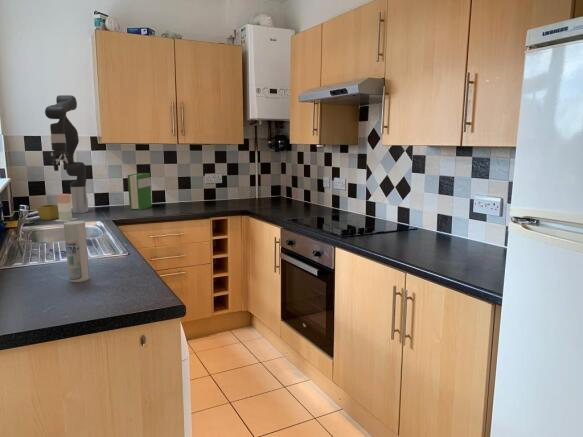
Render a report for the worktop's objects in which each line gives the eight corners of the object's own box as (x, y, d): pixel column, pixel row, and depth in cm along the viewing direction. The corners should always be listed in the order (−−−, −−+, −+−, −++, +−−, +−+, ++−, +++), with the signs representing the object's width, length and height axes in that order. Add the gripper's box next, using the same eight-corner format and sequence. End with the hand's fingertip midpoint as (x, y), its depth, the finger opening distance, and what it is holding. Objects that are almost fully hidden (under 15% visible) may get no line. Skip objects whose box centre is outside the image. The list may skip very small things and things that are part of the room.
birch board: (63, 219, 267) (63, 217, 267) (78, 219, 266) (78, 218, 266) (52, 222, 257) (52, 220, 257) (68, 222, 256) (68, 221, 256)
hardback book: (139, 210, 303) (137, 175, 299) (129, 209, 304) (127, 175, 300) (151, 206, 320) (149, 173, 316) (142, 206, 321) (140, 173, 317)
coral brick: (63, 202, 263) (62, 193, 262) (70, 202, 262) (70, 193, 261) (57, 203, 258) (56, 194, 257) (65, 203, 257) (64, 194, 256)
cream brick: (63, 210, 263) (62, 202, 263) (71, 210, 263) (70, 202, 262) (58, 211, 259) (57, 203, 258) (66, 211, 258) (65, 203, 257)
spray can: (64, 281, 150) (59, 223, 147) (79, 275, 156) (74, 220, 153) (79, 283, 148) (73, 224, 144) (94, 277, 154) (89, 221, 150)
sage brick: (64, 218, 264) (63, 210, 263) (72, 218, 264) (71, 210, 263) (59, 220, 259) (58, 211, 259) (67, 220, 259) (66, 211, 258)
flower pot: (50, 222, 258) (49, 207, 257) (37, 221, 260) (36, 206, 259) (61, 219, 267) (59, 205, 265) (48, 219, 269) (47, 204, 267)
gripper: (60, 142, 261) (62, 169, 264) (44, 142, 247) (47, 171, 250) (72, 142, 260) (74, 169, 263) (56, 142, 246) (59, 171, 249)
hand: (61, 170), depth 256 cm, fingers open, 8 cm apart
